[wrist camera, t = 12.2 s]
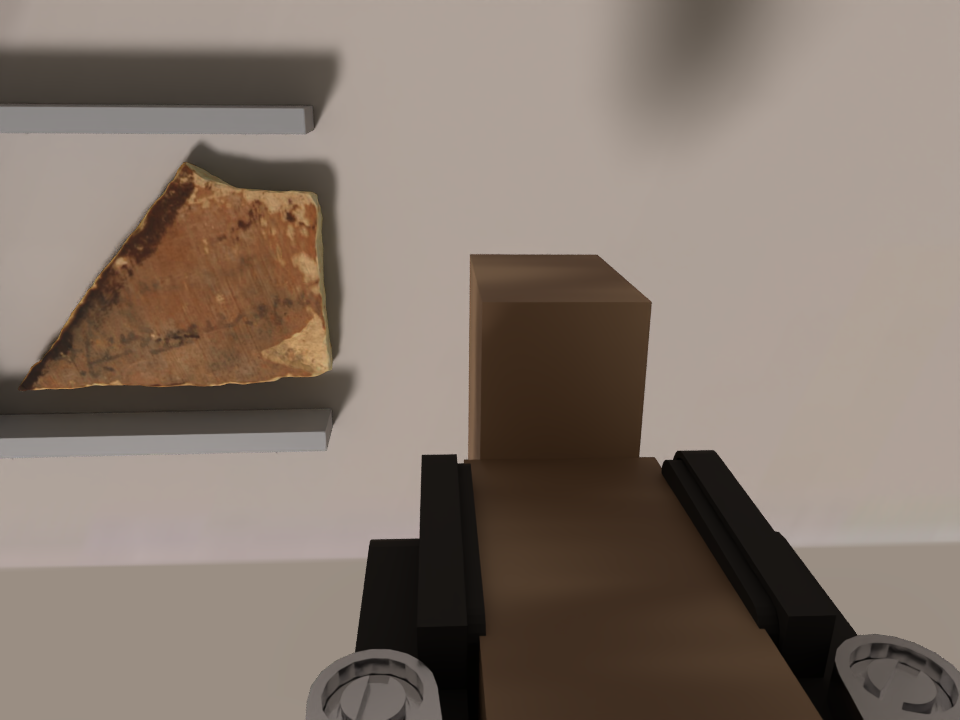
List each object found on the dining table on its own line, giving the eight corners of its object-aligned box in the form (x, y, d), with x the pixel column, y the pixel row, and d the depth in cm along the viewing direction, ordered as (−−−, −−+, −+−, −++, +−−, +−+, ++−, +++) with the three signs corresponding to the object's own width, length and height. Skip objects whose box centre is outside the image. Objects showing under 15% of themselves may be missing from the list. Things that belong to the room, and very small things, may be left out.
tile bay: (312, 105, 25) (303, 108, 23) (332, 426, 29) (326, 451, 27) (-123, 103, 24) (-168, 105, 23) (-42, 434, 28) (-74, 459, 27)
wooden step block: (609, 254, 15) (990, 564, 5) (587, 604, 18) (811, 1315, 7) (457, 254, 15) (508, 574, 5) (455, 607, 18) (488, 1340, 7)
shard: (37, 375, 28) (12, 394, 27) (-10, 160, 26) (-40, 167, 24) (336, 368, 29) (331, 386, 27) (322, 158, 26) (315, 164, 25)
